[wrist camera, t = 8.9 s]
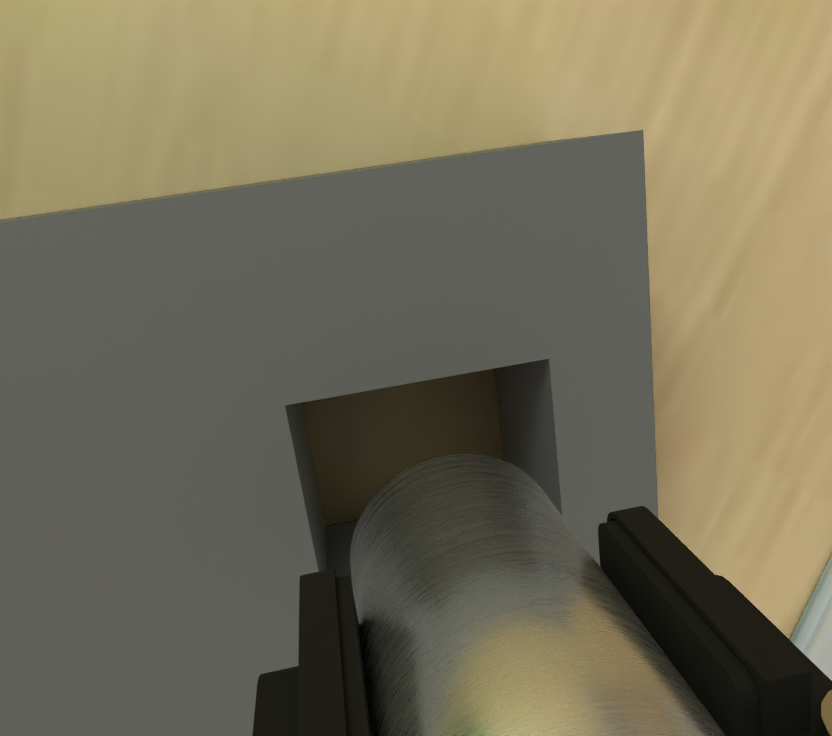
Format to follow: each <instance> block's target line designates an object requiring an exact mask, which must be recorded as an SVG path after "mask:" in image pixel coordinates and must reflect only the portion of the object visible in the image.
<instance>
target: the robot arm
mask: <svg viewBox="0 0 832 736" xmlns="http://www.w3.org/2000/svg"><path fill="white" fill-rule="evenodd" d="M598 541H599V556H600V567H601V569H602V570H603V571H604V573H605V574H606V575H607V577H608V578H609V579H610V581H611V582H612V583H613V585H614V586H615V587H616V589H617V590H618V591H619V593H620V594H621V595H622V597H623V598H624V599H625V601H626V602H627V603H628V605H629V606H630V607H631V609H632V610H633V611H634V613H635V614H636V616H637V617H638V618H639V620H640V621H641V622H642V624H643V625H644V626H645V628H646V629H647V630H648V632H649V633H650V634H651V636H652V637H653V638H654V640H655V641H656V642H657V644H658V645H659V646H660V648H661V649H662V650H663V652H664V653H665V654H666V656H667V657H668V658H669V660H670V661H671V662H672V664H673V665H674V666H675V668H676V669H677V670H678V672H679V673H680V675H681V676H682V677H683V679H684V680H685V681H686V683H687V684H688V685H689V687H690V688H691V689H692V691H693V692H694V693H695V695H696V696H697V697H698V699H699V700H700V701H701V703H702V704H703V705H704V707H705V708H706V709H707V711H708V712H709V713H710V715H711V716H712V717H713V719H714V720H715V721H716V723H717V724H718V725H719V727H720V728H721V729H722V731H723V732H724V734H725V735H726V736H832V681H831V680H830V679H829V678H828V677H827V676H826V675H825V674H824V673H823V672H822V671H821V670H820V669H819V668H818V667H817V666H816V665H815V664H814V663H813V662H812V661H811V660H810V659H809V658H808V657H807V656H806V655H805V654H803V653H802V652H801V651H800V650H799V649H798V648H797V647H796V646H795V645H794V644H793V643H792V642H791V641H790V640H789V639H788V638H787V637H786V636H785V635H784V634H783V633H782V632H781V631H780V630H779V629H778V628H777V627H776V626H775V625H774V624H773V623H772V622H770V621H769V620H768V619H767V618H766V617H765V616H764V615H763V614H762V613H761V612H760V611H759V610H758V609H757V608H756V607H755V606H754V605H753V604H752V603H751V602H750V601H749V600H748V599H747V598H746V597H745V596H744V595H743V594H742V593H741V592H740V591H738V590H737V589H736V588H735V587H734V586H733V585H732V584H731V583H730V582H729V581H728V580H726V579H725V578H724V577H722V576H718V575H714V574H713V573H712V572H711V571H710V570H709V569H708V568H707V567H706V566H705V565H704V564H703V563H702V562H701V561H700V560H699V559H698V558H697V557H696V556H695V555H694V554H693V553H692V552H691V551H690V550H689V549H688V548H687V547H686V546H685V545H684V544H683V543H682V542H681V541H680V540H679V539H678V538H677V537H676V536H675V535H674V534H673V533H672V532H671V531H670V530H669V529H668V528H667V527H666V526H665V525H664V524H663V523H662V522H661V521H660V520H659V519H658V518H657V517H656V516H655V515H654V514H653V513H652V512H651V511H650V510H649V509H648V508H646V507H645V506H638V507H633V508H628V509H623V510H618V511H613V512H610V513H609V514H608V517H607V522H605V523H600V524H599V526H598ZM252 736H372V728H371V720H370V712H369V703H368V695H367V686H366V678H365V670H364V661H363V653H362V644H361V636H360V628H359V621H358V616H357V611H356V605H355V600H354V595H353V589H352V584H351V579H350V575H347V576H343V577H338V578H337V576H336V571H335V569H330V570H325V571H320V572H315V573H310V574H305V575H301V576H300V584H299V660H298V666H296V667H291V668H287V669H282V670H277V671H273V672H268V673H264V674H260V676H259V677H258V683H257V692H256V702H255V713H254V724H253V735H252Z"/></svg>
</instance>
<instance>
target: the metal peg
mask: <svg viewBox="0 0 832 736" xmlns="http://www.w3.org/2000/svg"><path fill="white" fill-rule="evenodd" d="M350 568H351V577H352V586H353V595H354V600H355V605H356V611H357V616H358V621H359V628H360V636H361V644H362V653H363V661H364V670H365V678H366V686H367V695H368V703H369V712H370V720H371V728H372V736H726V735H725V734H724V732H723V731H722V729H721V728H720V727H719V725H718V724H717V723H716V721H715V720H714V719H713V717H712V716H711V715H710V713H709V712H708V711H707V709H706V708H705V707H704V705H703V704H702V703H701V701H700V700H699V699H698V697H697V696H696V695H695V693H694V692H693V691H692V689H691V688H690V687H689V685H688V684H687V683H686V681H685V680H684V679H683V677H682V676H681V675H680V673H679V672H678V670H677V669H676V668H675V666H674V665H673V664H672V662H671V661H670V660H669V658H668V657H667V656H666V654H665V653H664V652H663V650H662V649H661V648H660V646H659V645H658V644H657V642H656V641H655V640H654V638H653V637H652V636H651V634H650V633H649V632H648V630H647V629H646V628H645V626H644V625H643V624H642V622H641V621H640V620H639V618H638V617H637V616H636V614H635V613H634V611H633V610H632V609H631V607H630V606H629V605H628V603H627V602H626V601H625V599H624V598H623V597H622V595H621V594H620V593H619V591H618V590H617V589H616V587H615V586H614V585H613V583H612V582H611V581H610V579H609V578H608V577H607V575H606V574H605V573H604V571H603V570H602V569H601V567H600V566H599V565H598V563H597V562H596V561H595V559H594V558H593V557H592V555H591V554H590V553H589V551H588V550H587V548H586V547H585V546H584V544H583V543H582V542H581V540H580V539H579V538H578V536H577V535H576V534H575V532H574V531H573V530H572V528H571V527H570V526H569V524H568V523H567V522H566V520H565V519H564V518H563V516H562V515H561V514H560V512H559V511H558V510H557V508H556V507H555V506H554V504H553V503H552V502H551V500H550V499H549V498H548V496H547V495H546V494H545V492H544V491H543V489H542V488H541V487H540V486H539V485H538V484H537V483H536V482H535V480H534V479H533V478H532V477H530V476H529V475H528V474H527V473H525V472H524V471H523V470H521V469H519V468H518V467H516V466H514V465H513V464H511V463H508V462H506V461H504V460H501V459H499V458H495V457H491V456H487V455H480V454H472V453H457V454H450V455H443V456H439V457H435V458H431V459H428V460H425V461H422V462H420V463H417V464H415V465H413V466H411V467H409V468H407V469H405V470H404V471H402V472H401V473H399V474H398V475H396V476H395V477H393V478H392V479H391V480H389V481H388V482H387V483H386V484H385V485H384V486H383V487H382V488H380V489H379V491H378V492H377V493H376V494H375V495H374V496H373V497H372V499H371V500H370V501H369V503H368V504H367V506H366V507H365V509H364V510H363V512H362V514H361V516H360V518H359V520H358V522H357V525H356V528H355V530H354V533H353V537H352V542H351V548H350Z"/></svg>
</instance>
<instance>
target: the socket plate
mask: <svg viewBox="0 0 832 736" xmlns="http://www.w3.org/2000/svg"><path fill="white" fill-rule="evenodd" d="M494 368H495V372H496V381H497V391H498V400H499V409H500V419H501V428H502V437H503V447H504V456H505V461H506V462H508V463H511V464H513V465H514V466H516V467H518V468H519V469H521V470H523V471H524V472H525V473H527V474H528V475H529V476H530V477H532V478H533V479H534V480H535V482H536V483H537V484H538V485H539V486H540V487H541V488H542V489H543V491H544V492H545V494H546V495H547V496H548V498H549V499H550V500H551V502H552V503H553V504H554V506H555V507H556V508H557V510H558V511H559V512H560V514H561V515H562V516H563V518H564V519H565V520H566V522H567V523H568V524H569V526H570V527H571V528H572V530H573V531H574V532H575V534H576V535H577V536H578V538H579V539H580V540H581V542H582V543H583V544H584V546H585V547H586V548H587V550H588V551H589V553H590V554H591V555H592V557H593V558H594V559H595V561H596V562H597V563H598V565H599V566H600V556H599V541H598V526H599V524H600V523H605V522H607V517H608V514H609V513H610V512H613V511H618V510H623V509H628V508H633V507H638V506H645V507H646V508H648V509H649V510H650V511H651V512H652V513H653V514H654V515H655V516H656V517H657V518H658V502H657V477H656V451H655V425H654V399H653V373H652V347H651V321H650V295H649V269H648V244H647V218H646V192H645V166H644V140H643V130H640V131H632V132H623V133H615V134H606V135H598V136H589V137H581V138H572V139H564V140H556V141H549V142H542V143H535V144H528V145H521V146H514V147H507V148H500V149H493V150H486V151H479V152H472V153H465V154H458V155H451V156H444V157H437V158H430V159H423V160H416V161H409V162H402V163H395V164H388V165H381V166H374V167H367V168H360V169H353V170H346V171H339V172H332V173H325V174H318V175H311V176H304V177H297V178H290V179H283V180H276V181H269V182H262V183H255V184H248V185H241V186H234V187H227V188H220V189H213V190H206V191H199V192H192V193H185V194H178V195H171V196H164V197H157V198H150V199H143V200H136V201H129V202H122V203H115V204H108V205H101V206H94V207H87V208H80V209H74V210H67V211H60V212H53V213H46V214H39V215H32V216H25V217H18V218H11V219H4V220H0V736H252V735H253V724H254V713H255V702H256V692H257V683H258V677H259V676H260V674H264V673H268V672H273V671H277V670H282V669H287V668H291V667H296V666H298V660H299V584H300V576H301V575H305V574H310V573H315V572H320V571H325V570H330V569H335V571H336V576H337V578H338V577H343V576H347V575H350V579H351V584H352V577H351V568H350V548H351V542H352V537H353V533H354V530H355V528H356V525H357V522H358V520H357V521H352V522H347V523H342V524H337V525H332V526H327V527H325V522H324V516H323V511H322V506H321V501H320V496H319V491H318V486H317V481H316V476H315V470H314V465H313V460H312V455H311V450H310V445H309V440H308V435H307V429H306V424H305V419H304V414H303V409H302V404H301V403H302V402H308V401H313V400H319V399H325V398H330V397H336V396H342V395H347V394H353V393H359V392H364V391H370V390H375V389H381V388H387V387H392V386H398V385H404V384H409V383H415V382H420V381H426V380H432V379H437V378H443V377H449V376H454V375H460V374H465V373H471V372H477V371H482V370H488V369H494ZM352 589H353V586H352Z"/></svg>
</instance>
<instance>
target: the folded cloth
mask: <svg viewBox="0 0 832 736" xmlns="http://www.w3.org/2000/svg"><path fill="white" fill-rule="evenodd" d="M790 641H791V642H792V643H793V644H794V645H795V646H796V647H797V648H798V649H799V650H800V651H801V652H802V653H803V654H805V655H806V656H807V657H808V658H809V659H810V660H811V661H812V662H813V663H814V664H815V665H816V666H817V667H818V668H819V669H820V670H821V671H822V672H823V673H824V674H825V675H826V676H827V677H828V678H829V679H830V680H831V681H832V555H831V557H830V559H829V561H828V563H827V565H826V568H825V570H824V572H823V574H822V576H821V578H820V580H819V582H818V584H817V586H816V588H815V590H814V592H813V594H812V596H811V598H810V600H809V602H808V604H807V606H806V608H805V610H804V612H803V615H802V617H801V619H800V621H799V623H798V625H797V627H796V629H795V631H794V633H793V635H792V637H791V639H790Z"/></svg>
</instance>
